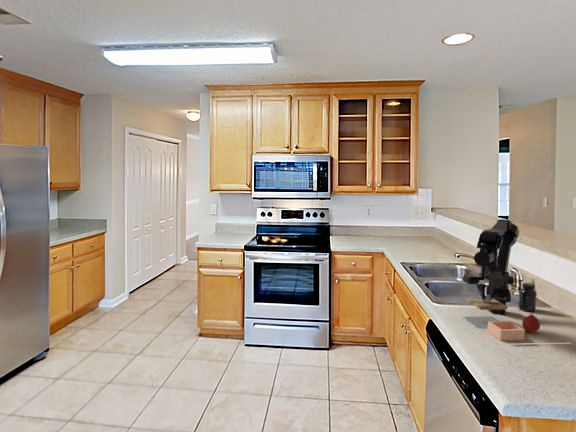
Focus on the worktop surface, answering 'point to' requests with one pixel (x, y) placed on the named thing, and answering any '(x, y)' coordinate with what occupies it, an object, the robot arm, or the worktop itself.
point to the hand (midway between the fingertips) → (486, 299)
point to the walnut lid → (487, 303)
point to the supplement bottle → (527, 297)
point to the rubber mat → (480, 321)
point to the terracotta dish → (505, 330)
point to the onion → (531, 323)
